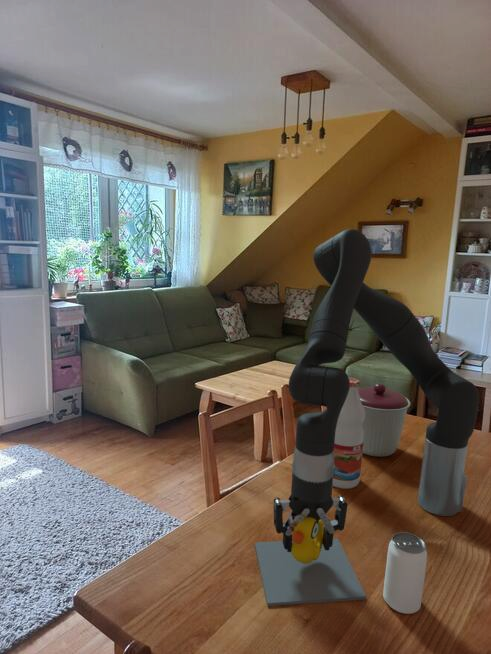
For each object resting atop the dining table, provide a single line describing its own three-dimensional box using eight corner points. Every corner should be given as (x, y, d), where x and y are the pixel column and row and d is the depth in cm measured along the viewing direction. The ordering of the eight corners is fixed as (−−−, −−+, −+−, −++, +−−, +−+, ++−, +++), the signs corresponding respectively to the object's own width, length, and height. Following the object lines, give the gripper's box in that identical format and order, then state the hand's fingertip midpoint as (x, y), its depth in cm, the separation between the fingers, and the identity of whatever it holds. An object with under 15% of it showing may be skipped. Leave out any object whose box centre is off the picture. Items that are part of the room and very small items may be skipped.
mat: (337, 540, 98) (337, 538, 98) (365, 599, 82) (366, 596, 82) (254, 545, 96) (254, 542, 96) (267, 606, 80) (267, 603, 80)
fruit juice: (345, 468, 128) (354, 373, 123) (367, 485, 120) (377, 384, 114) (317, 474, 125) (324, 376, 119) (336, 492, 116) (345, 387, 111)
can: (377, 587, 85) (383, 530, 83) (411, 586, 86) (418, 529, 83) (391, 616, 79) (398, 555, 77) (427, 615, 80) (435, 554, 77)
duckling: (304, 583, 83) (308, 534, 81) (278, 570, 86) (281, 522, 83) (329, 548, 92) (333, 504, 90) (305, 538, 95) (308, 494, 93)
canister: (357, 431, 153) (362, 371, 149) (412, 447, 143) (419, 383, 139) (333, 450, 139) (339, 384, 135) (393, 470, 129) (400, 399, 124)
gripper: (278, 481, 80) (274, 564, 84) (357, 479, 82) (349, 560, 86) (271, 460, 88) (267, 537, 91) (343, 459, 89) (337, 534, 93)
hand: (307, 548), depth 88 cm, fingers closed on duckling, 7 cm apart
